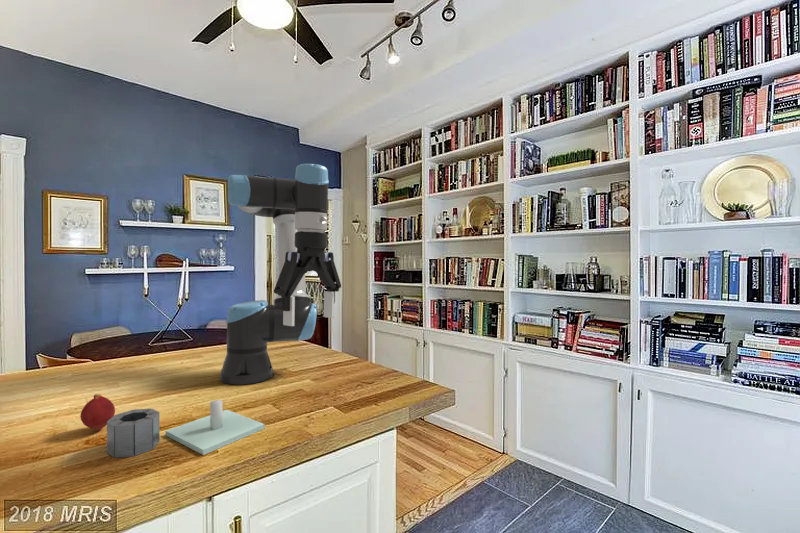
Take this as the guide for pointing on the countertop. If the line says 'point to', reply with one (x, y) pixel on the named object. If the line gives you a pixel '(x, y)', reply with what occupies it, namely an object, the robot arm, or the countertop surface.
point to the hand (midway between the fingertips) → (310, 321)
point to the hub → (132, 432)
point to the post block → (214, 429)
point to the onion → (97, 412)
